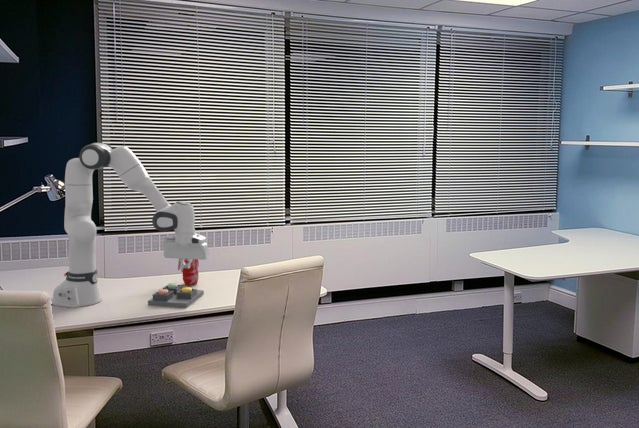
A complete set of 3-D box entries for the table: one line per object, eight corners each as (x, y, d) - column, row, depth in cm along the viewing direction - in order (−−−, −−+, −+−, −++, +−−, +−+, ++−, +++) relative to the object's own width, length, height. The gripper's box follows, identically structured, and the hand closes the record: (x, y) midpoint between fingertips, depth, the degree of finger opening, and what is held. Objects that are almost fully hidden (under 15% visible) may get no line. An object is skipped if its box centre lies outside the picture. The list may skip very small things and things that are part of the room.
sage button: (166, 289, 271) (166, 285, 271) (170, 286, 276) (170, 282, 275) (175, 290, 271) (175, 285, 270) (179, 287, 275) (179, 283, 274)
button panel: (148, 305, 260) (147, 295, 259) (167, 292, 279) (167, 282, 279) (186, 307, 257) (186, 298, 256) (203, 294, 276) (203, 285, 275)
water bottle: (173, 284, 291) (171, 234, 287) (181, 280, 299) (180, 231, 295) (194, 287, 288) (193, 236, 283) (202, 282, 295) (201, 233, 291)
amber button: (180, 294, 265) (180, 289, 265) (184, 291, 269) (184, 286, 269) (189, 294, 264) (189, 290, 264) (193, 291, 268) (193, 287, 268)
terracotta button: (156, 296, 262) (156, 291, 261) (160, 293, 266) (160, 288, 266) (165, 296, 261) (165, 292, 260) (170, 293, 265) (169, 289, 265)
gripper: (160, 238, 261) (161, 268, 264) (204, 240, 258) (205, 271, 260) (166, 235, 267) (167, 265, 270) (209, 237, 264) (210, 267, 266)
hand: (186, 268), depth 265 cm, fingers closed
